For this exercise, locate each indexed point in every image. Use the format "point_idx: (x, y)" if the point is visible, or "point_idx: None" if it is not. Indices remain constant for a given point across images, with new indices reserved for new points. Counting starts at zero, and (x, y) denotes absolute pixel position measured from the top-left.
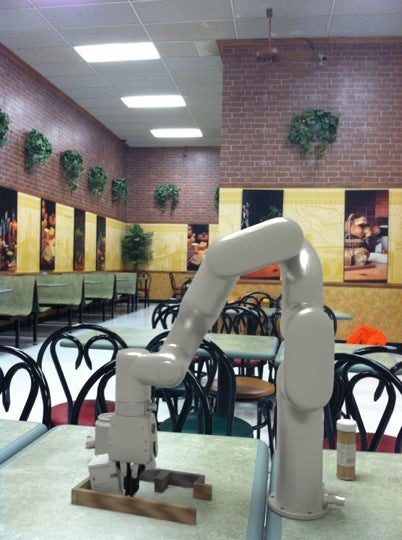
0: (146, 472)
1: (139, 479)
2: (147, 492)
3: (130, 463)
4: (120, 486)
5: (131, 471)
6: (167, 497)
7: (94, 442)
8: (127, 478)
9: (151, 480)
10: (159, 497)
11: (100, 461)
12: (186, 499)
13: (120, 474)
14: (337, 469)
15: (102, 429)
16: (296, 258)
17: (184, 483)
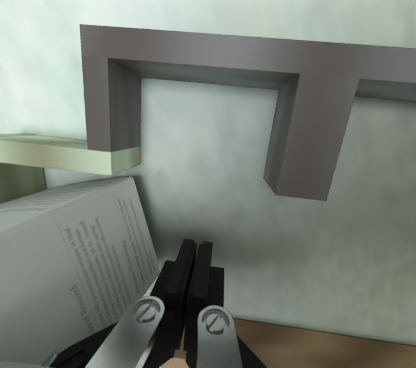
0: (196, 70)
1: (223, 297)
2: (238, 186)
3: (141, 365)
4: (145, 269)
5: (171, 330)
6: (325, 210)
7: None
8: (174, 350)
9: (227, 82)
10: (294, 216)
11: None
12: (406, 212)
13: (110, 269)
14: None
15: None
16: None
17: (411, 96)
